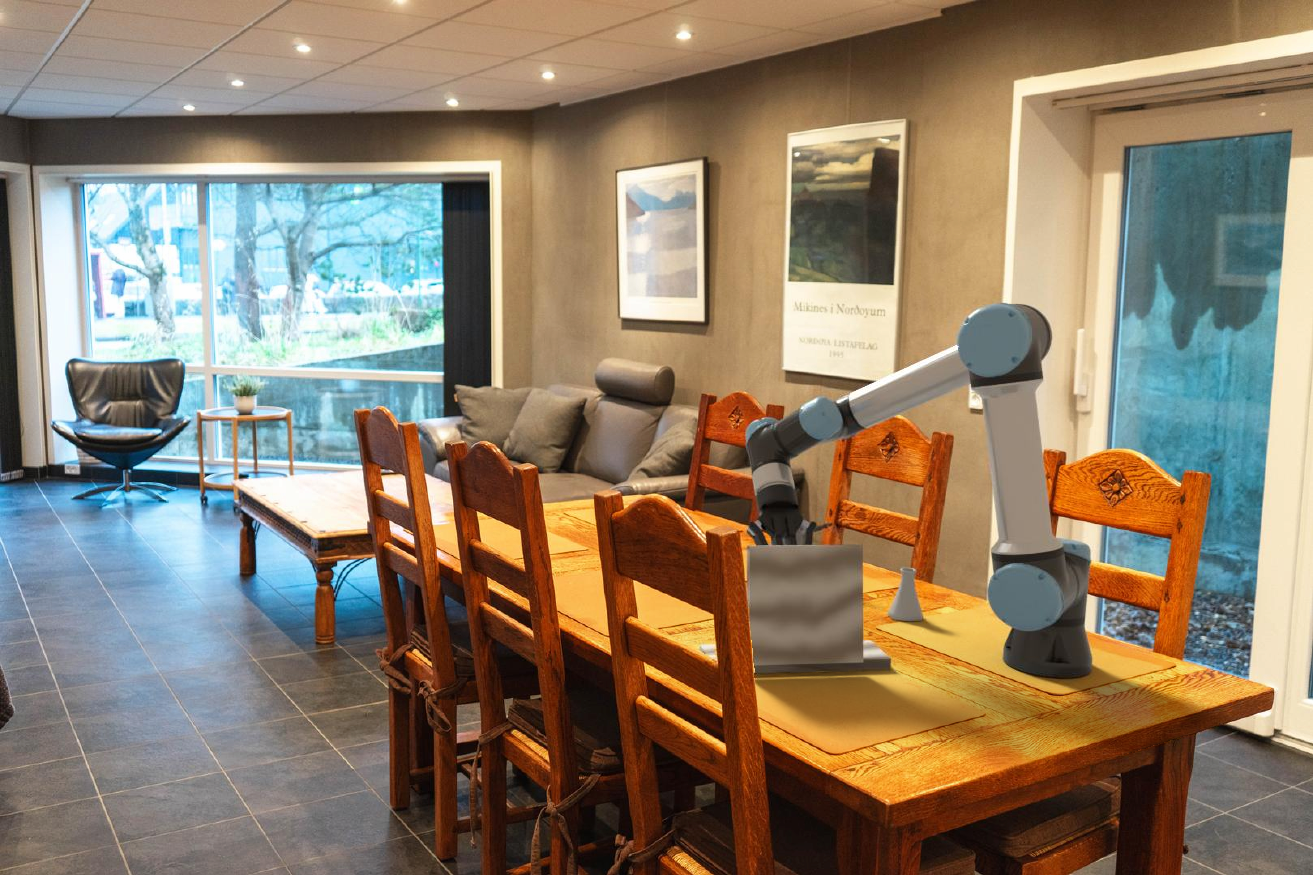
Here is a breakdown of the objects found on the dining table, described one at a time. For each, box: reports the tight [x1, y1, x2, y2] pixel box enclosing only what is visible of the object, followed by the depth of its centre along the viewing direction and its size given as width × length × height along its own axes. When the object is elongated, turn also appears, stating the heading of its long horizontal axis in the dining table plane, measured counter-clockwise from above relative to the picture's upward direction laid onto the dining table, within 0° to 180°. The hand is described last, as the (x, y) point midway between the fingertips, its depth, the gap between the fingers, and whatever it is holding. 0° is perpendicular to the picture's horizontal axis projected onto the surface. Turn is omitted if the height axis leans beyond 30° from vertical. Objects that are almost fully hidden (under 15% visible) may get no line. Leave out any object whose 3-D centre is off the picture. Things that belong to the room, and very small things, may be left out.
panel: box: [746, 544, 864, 665], centre depth 189 cm, size 20×20×2 cm
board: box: [699, 639, 892, 675], centre depth 195 cm, size 10×32×2 cm, turn 99°
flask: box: [886, 567, 924, 622], centre depth 224 cm, size 7×7×10 cm
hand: (796, 606), depth 191 cm, fingers closed
